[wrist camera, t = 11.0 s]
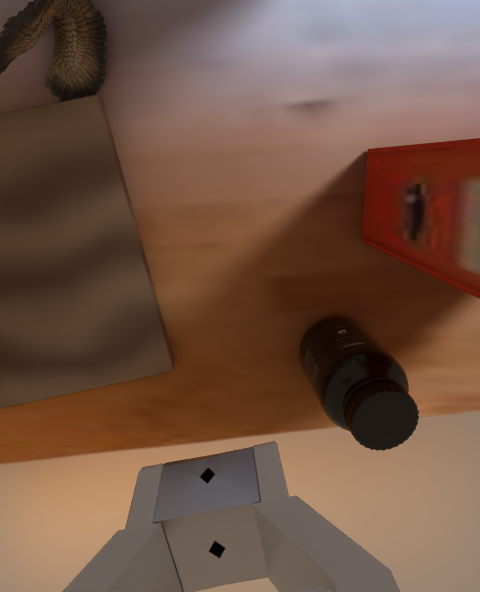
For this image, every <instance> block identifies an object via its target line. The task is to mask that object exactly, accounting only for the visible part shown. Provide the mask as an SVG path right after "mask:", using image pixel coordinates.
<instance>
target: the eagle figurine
mask: <svg viewBox="0 0 480 592" xmlns="http://www.w3.org/2000/svg"><path fill="white" fill-rule="evenodd" d="M51 20H52V22H53V25H54V31H55V46H54V53H53V61H52V64H51V67H50V69H49V73H48V75H47V78H46V86H47V87H48V88H50V89H51V91H52V94H53V95H56V96H58V97H59V100H60V101H61V102H64V101H69V100H74V99H79V98H84V96H86V97H89V96H91V94H92V93H96V92H97V91H98V89H99V88H100V84H101V83H103V76H104V75H105V71H104V67H105V58H104V55H105V48H106V47H105V42H106V40H107V39H106V36H107V32H106V26H105V24H104V18H103V17H102V15H101V13H100V12H99V11H97V10H96V8H95V6H94V5H92V4H90V0H34V1H33V2H30V3H28V6H27V7H26V8H25V9H24V11H19V13H18V15H17V16H13V17H11V18H9V19H8V21H7V23H6V24H5V25H4V26H3V28H4V30H3V31H2V32H1V33H0V35H1V36H0V74H1V72H4V71H5V69H6V68H7V67H8V65H9V64H10V63H11V62H12V61H13V60H14V59H15V58H16V57H17V56H19V55H21V54H23V53H25V52H27V51H28V50H30V49H31V48H32V47H33V46H34V45H35V44H36V43H37V41H38V40H39V39H40V37H41V36H42V35H43V34H44V32H45V30H46V29H47V26H48V25H49V23H50V22H51Z"/></svg>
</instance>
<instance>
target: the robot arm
mask: <svg viewBox="0 0 480 592" xmlns="http://www.w3.org/2000/svg"><path fill="white" fill-rule="evenodd" d="M267 577H269V579H270V581H271V582H272V583H273V585H274V586H275V587H276V589H277V590H278V591H279V592H400V590H399V588H398V586H397V584H396V581H395V579H394V577H393V575H392V572H391V570H390V569H389V568H387V567H386V566H385V565H383V564H382V563H381V562H380V561H379V560H377V559H376V558H375V557H373V556H372V555H371V554H370V553H368V552H367V551H366V550H364V549H363V548H362V547H361V546H359V545H358V544H357V543H356V542H354V541H353V540H352V539H351V538H349V537H348V536H347V535H345V534H344V533H343V532H342V531H340V530H339V529H338V528H337V527H335V526H334V525H333V524H332V523H330V522H329V521H328V520H326V519H325V518H324V517H323V516H321V515H320V514H319V513H317V512H316V511H315V510H314V509H313V508H311V507H310V506H309V505H308V504H306V503H305V502H304V501H302V500H301V499H300V498H299V497H297V496H291V497H289V494H288V490H287V486H286V481H285V477H284V473H283V468H282V464H281V460H280V455H279V451H278V447H277V443H276V442H275V441H273V442H268V443H264V444H260V445H255V446H253V447H250V448H244V449H240V450H234V451H230V452H225V453H220V454H215V455H210V456H209V455H208V456H203V457H197V458H192V459H185V460H180V461H174V462H169V463H165V464H158V465H153V466H147V467H143V468H142V469H141V470H140V471H139V474H138V478H137V482H136V486H135V490H134V494H133V498H132V503H131V507H130V511H129V515H128V519H127V523H126V527H125V529H124V530H119V531H117V532H116V533H115V534H114V536H113V537H112V538H111V539H110V540H109V541H108V542H107V543H106V544H105V545H104V547H103V548H102V549H101V550H100V551H99V552H98V553H97V554H96V555H95V556H94V558H93V559H92V560H91V561H90V562H89V563H88V564H87V565H86V566H85V567H84V569H83V570H82V571H81V572H80V573H79V574H78V575H77V576H76V577H75V578H74V580H73V581H72V582H71V583H70V584H69V585H68V586H67V587H66V588H65V589H64V591H63V592H195V591H200V590H204V589H209V588H213V587H217V586H222V585H225V584H232V583H238V582H244V581H249V580H256V579H261V578H267Z"/></svg>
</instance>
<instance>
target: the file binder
mask: <svg viewBox="0 0 480 592" xmlns="http://www.w3.org/2000/svg"><path fill="white" fill-rule="evenodd" d="M362 240H363V242H364V243H366V244H368V245H370V246H372V247H374V248H376V249H378V250H380V251H382V252H384V253H387V254H389V255H391V256H393V257H395V258H397V259H399V260H401V261H403V262H405V263H407V264H409V265H411V266H413V267H415V268H418V269H420V270H422V271H424V272H426V273H428V274H430V275H432V276H434V277H436V278H438V279H440V280H442V281H444V282H446V283H449V284H451V285H453V286H455V287H457V288H459V289H461V290H463V291H465V292H467V293H469V294H471V295H473V296H475V297H477V298H480V138H478V139H467V140H457V141H447V142H436V143H426V144H416V145H405V146H395V147H385V148H374V149H368V155H367V159H366V177H365V196H364V214H363V232H362Z"/></svg>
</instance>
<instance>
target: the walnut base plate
mask: <svg viewBox="0 0 480 592" xmlns="http://www.w3.org/2000/svg"><path fill="white" fill-rule="evenodd" d="M174 364H175V363H174V360H173V356H172V352H171V349H170V345H169V341H168V338H167V334H166V330H165V327H164V323H163V320H162V316H161V312H160V309H159V305H158V301H157V298H156V294H155V290H154V287H153V283H152V279H151V276H150V272H149V268H148V265H147V261H146V258H145V254H144V250H143V247H142V243H141V239H140V236H139V232H138V228H137V225H136V221H135V217H134V214H133V210H132V206H131V203H130V199H129V196H128V192H127V188H126V185H125V181H124V177H123V174H122V170H121V166H120V163H119V159H118V155H117V152H116V148H115V145H114V141H113V137H112V134H111V130H110V126H109V123H108V119H107V115H106V112H105V108H104V104H103V101H102V98H101V97H99V96H98V95H94V96H89V97H84V98H79V99H74V100H69V101H64V102H59V103H54V104H49V105H44V106H39V107H34V108H29V109H24V110H20V111H15V112H10V113H5V114H0V388H1V389H0V409H1V408H6V407H11V406H15V405H20V404H24V403H29V402H33V401H38V400H43V399H47V398H52V397H56V396H61V395H66V394H70V393H75V392H79V391H84V390H88V389H93V388H98V387H102V386H107V385H111V384H116V383H121V382H125V381H130V380H134V379H139V378H143V377H148V376H153V375H157V374H162V373H166V372H171V371H174Z"/></svg>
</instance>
